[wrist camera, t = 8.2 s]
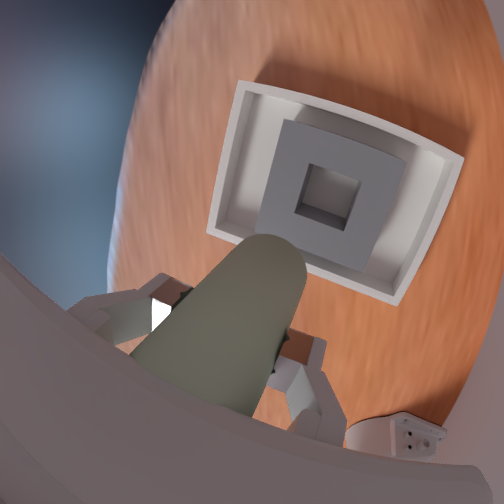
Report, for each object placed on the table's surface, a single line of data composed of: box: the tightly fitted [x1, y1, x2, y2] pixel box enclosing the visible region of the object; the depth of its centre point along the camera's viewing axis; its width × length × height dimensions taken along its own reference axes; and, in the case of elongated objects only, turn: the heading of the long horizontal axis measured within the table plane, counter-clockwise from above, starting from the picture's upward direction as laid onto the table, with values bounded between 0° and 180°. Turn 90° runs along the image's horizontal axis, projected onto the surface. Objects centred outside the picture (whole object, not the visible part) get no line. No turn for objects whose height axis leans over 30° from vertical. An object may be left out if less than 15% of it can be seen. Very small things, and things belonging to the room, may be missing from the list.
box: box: [206, 80, 464, 306], centre depth 29 cm, size 24×18×6 cm
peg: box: [129, 234, 307, 418], centre depth 11 cm, size 4×4×9 cm
